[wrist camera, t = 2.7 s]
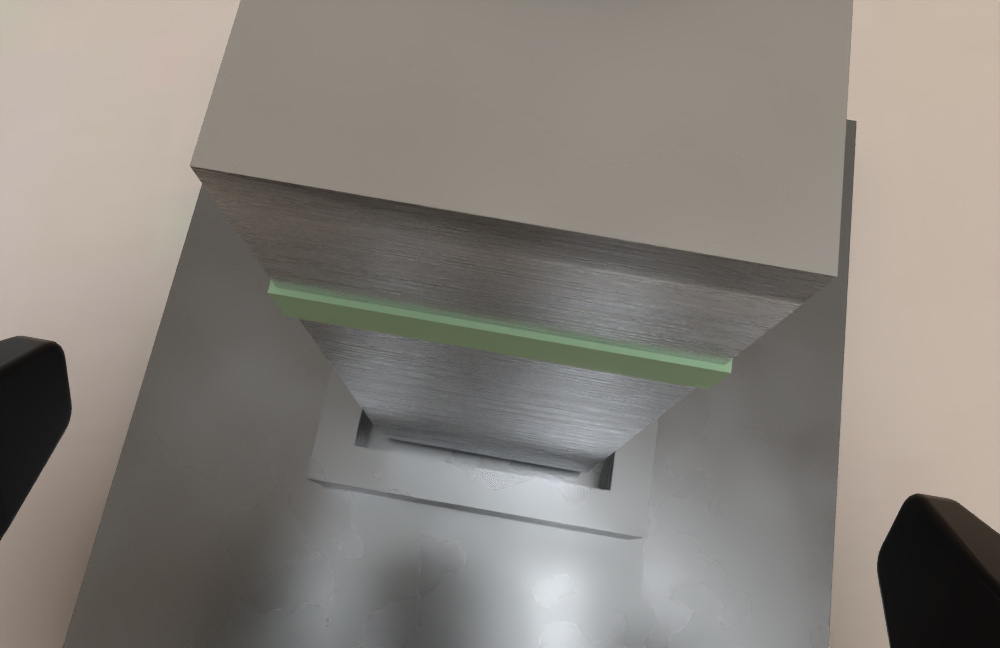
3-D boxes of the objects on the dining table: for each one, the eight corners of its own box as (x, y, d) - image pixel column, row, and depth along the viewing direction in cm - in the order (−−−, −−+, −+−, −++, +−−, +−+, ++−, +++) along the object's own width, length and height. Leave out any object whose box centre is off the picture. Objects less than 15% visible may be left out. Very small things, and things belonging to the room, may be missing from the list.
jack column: (589, 477, 18) (846, 288, 6) (378, 439, 18) (176, 172, 6) (617, 276, 19) (874, -230, 7) (420, 243, 19) (330, -317, 7)
